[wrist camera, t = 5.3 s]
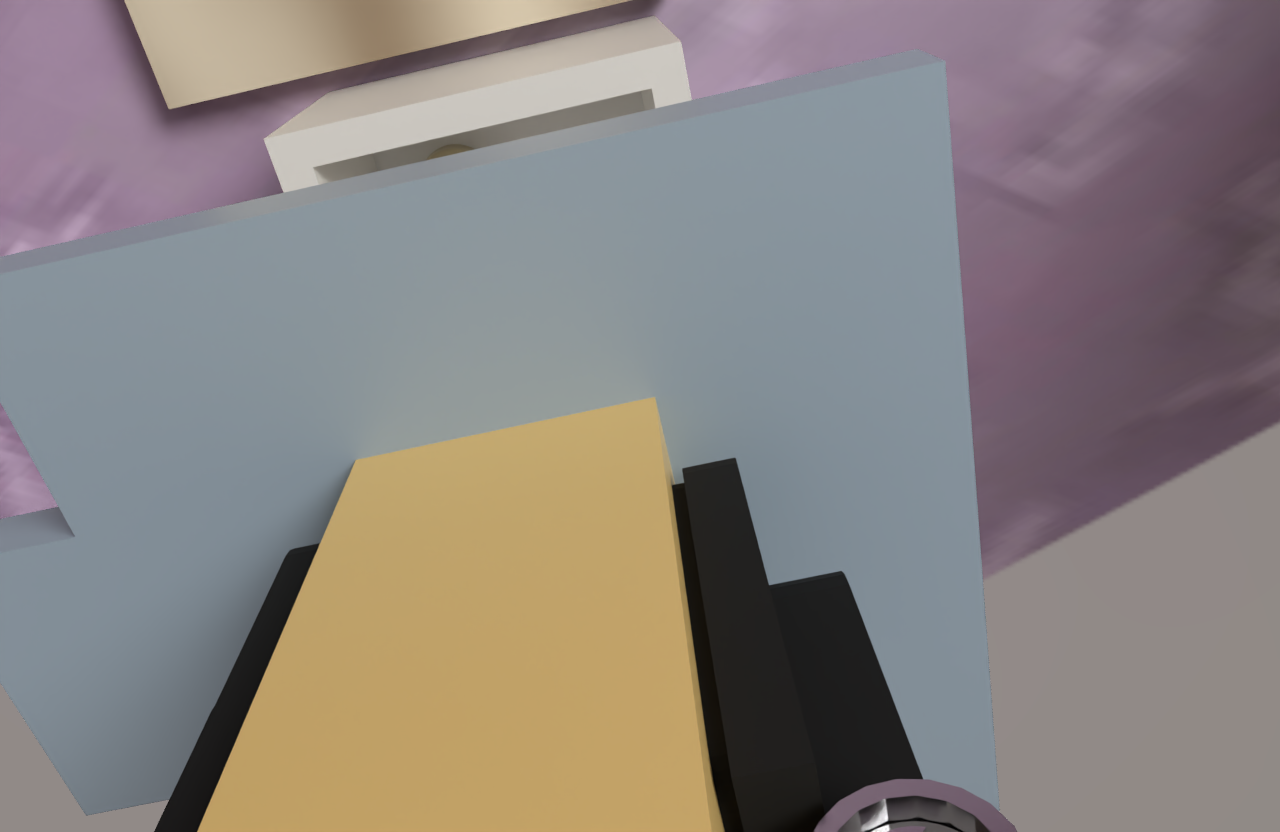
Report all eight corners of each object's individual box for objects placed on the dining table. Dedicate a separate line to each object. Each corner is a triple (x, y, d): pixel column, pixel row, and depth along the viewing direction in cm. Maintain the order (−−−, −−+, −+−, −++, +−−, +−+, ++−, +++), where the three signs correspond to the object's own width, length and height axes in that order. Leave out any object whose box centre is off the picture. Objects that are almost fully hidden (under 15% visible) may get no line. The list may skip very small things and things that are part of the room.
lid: (917, 49, 9) (1542, 322, 3) (977, 762, 13) (1305, 1486, 7) (-170, 296, 10) (-1404, 924, 4) (201, 907, 14) (-104, 1689, 8)
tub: (654, 15, 24) (681, 41, 19) (713, 323, 28) (750, 418, 22) (329, 92, 24) (263, 138, 19) (428, 387, 28) (397, 497, 23)
